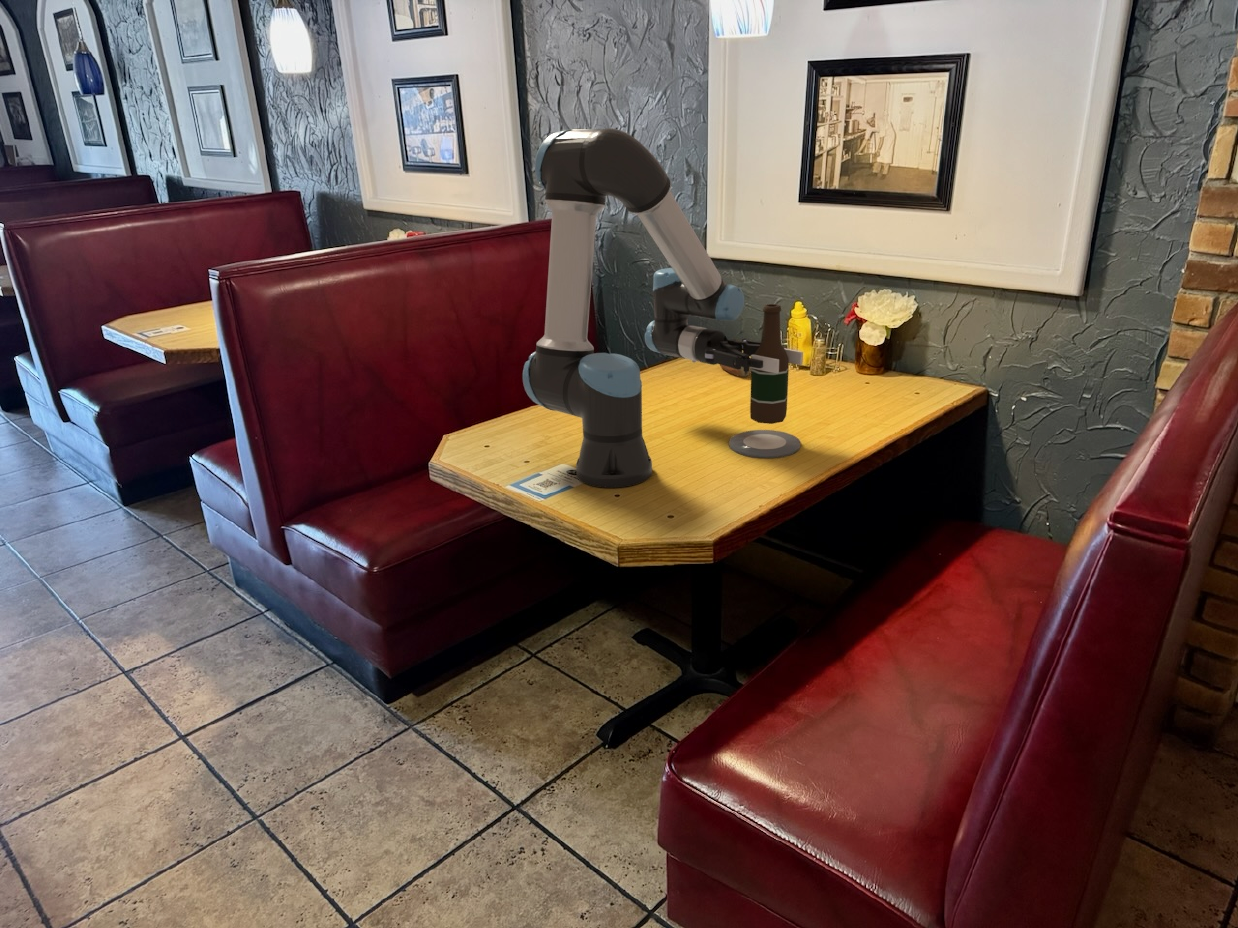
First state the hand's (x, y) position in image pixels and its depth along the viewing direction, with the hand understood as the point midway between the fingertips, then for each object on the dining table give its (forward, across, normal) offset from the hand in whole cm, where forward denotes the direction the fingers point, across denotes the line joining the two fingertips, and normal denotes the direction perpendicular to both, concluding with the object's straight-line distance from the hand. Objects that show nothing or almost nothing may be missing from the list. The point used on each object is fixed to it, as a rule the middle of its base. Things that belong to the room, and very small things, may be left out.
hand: (789, 362), depth 171 cm
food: (-46, -40, -19) cm, 63 cm away
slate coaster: (-5, +1, -19) cm, 19 cm away
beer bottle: (-5, 0, -13) cm, 14 cm away
